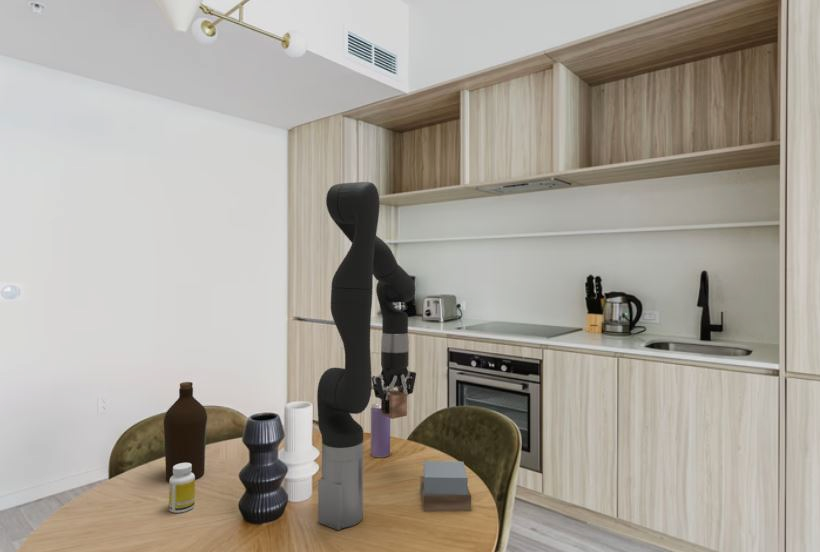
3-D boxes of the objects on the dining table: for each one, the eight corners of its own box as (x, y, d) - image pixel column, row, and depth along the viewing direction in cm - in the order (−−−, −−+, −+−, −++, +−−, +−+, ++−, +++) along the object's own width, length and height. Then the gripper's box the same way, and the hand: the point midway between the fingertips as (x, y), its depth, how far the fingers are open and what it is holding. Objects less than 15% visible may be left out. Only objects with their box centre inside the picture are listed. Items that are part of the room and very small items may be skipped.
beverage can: (389, 458, 144) (389, 408, 144) (369, 458, 144) (369, 407, 144) (390, 451, 150) (391, 402, 150) (371, 450, 150) (371, 402, 150)
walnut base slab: (471, 512, 112) (471, 495, 112) (423, 513, 111) (423, 495, 111) (463, 491, 123) (463, 475, 123) (420, 492, 122) (420, 476, 122)
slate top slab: (467, 495, 112) (467, 477, 112) (424, 494, 112) (424, 477, 112) (463, 477, 122) (463, 461, 122) (423, 476, 122) (423, 461, 122)
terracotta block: (392, 418, 128) (392, 396, 128) (381, 414, 132) (381, 392, 132) (406, 415, 131) (407, 393, 131) (395, 411, 135) (395, 390, 135)
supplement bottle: (199, 504, 114) (200, 463, 114) (182, 515, 109) (182, 471, 109) (181, 501, 115) (182, 460, 115) (163, 511, 110) (163, 468, 110)
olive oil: (172, 488, 122) (173, 389, 123) (157, 476, 130) (157, 383, 130) (213, 475, 130) (214, 383, 130) (196, 465, 137) (197, 377, 138)
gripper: (381, 353, 124) (381, 419, 124) (423, 348, 134) (422, 410, 133) (365, 350, 130) (364, 413, 130) (406, 345, 139) (405, 404, 139)
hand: (394, 411), depth 132 cm, fingers closed on terracotta block, 5 cm apart
